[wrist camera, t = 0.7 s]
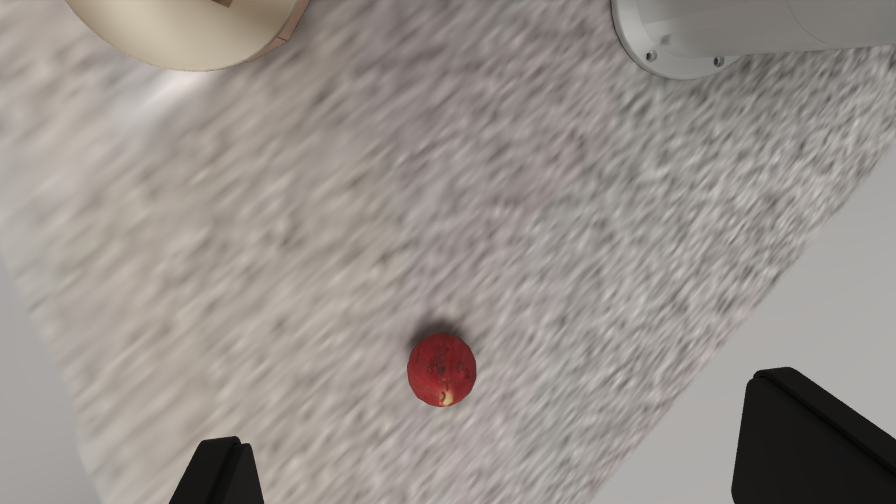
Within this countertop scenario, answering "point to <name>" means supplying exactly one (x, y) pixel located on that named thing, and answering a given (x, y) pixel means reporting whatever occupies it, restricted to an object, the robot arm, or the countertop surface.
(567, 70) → the countertop surface
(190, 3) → the lid
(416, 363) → the onion
